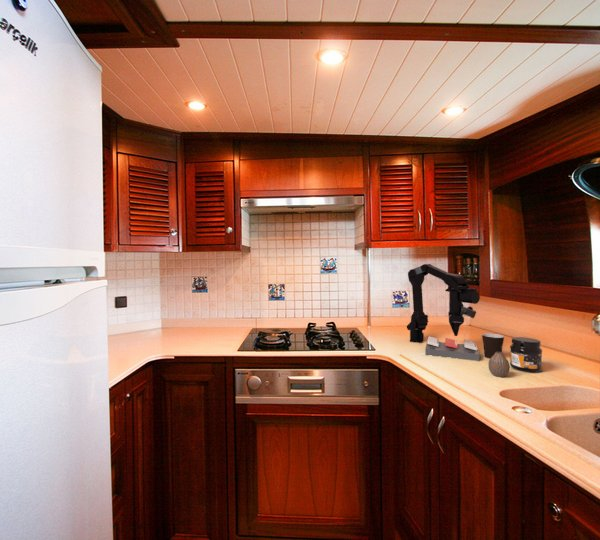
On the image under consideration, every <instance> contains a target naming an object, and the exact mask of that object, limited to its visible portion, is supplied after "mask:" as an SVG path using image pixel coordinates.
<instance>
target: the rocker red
mask: <svg viewBox="0 0 600 540" xmlns="http://www.w3.org/2000/svg"><path fill="white" fill-rule="evenodd" d="M444 340H445V341H444V343H445V346H449V347H453V348H457V346H458V345H457V344H458V340H455V339H452V338H447V337H445V339H444Z"/></svg>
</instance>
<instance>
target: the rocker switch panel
mask: <svg viewBox="0 0 600 540" xmlns="http://www.w3.org/2000/svg"><path fill="white" fill-rule="evenodd" d="M457 345H458V346H457V348H453V347H449V346H445V341H444V342H443V341H442V342H441V341H439V345H438V347H437V346H434V345H430V344H427V343H426V345H425V350H424V351H425V353H424V354H425V356H429V355H432V356H431V357H438V356H441V357H440V358H447V357H451V358H450V359H456V358H458V360H467V361H476V362H480V353H479V350H478V348H477V351H476V350H473V349H469V348H466V347H464V343H457Z"/></svg>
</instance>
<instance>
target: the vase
mask: <svg viewBox="0 0 600 540" xmlns="http://www.w3.org/2000/svg"><path fill="white" fill-rule="evenodd" d="M510 367H511V365H510V362H509V360H508V359H507V358H506V356H505V355H504V353H503V352H502V353H501V352H495V354H494V355H493V356H492V357H491V358H490V359H489V361H488V370H489V372H490V374H492V375H493V376H494V377H497V378H505V377H507V376H508V375H509V373H510V371H511V368H510Z"/></svg>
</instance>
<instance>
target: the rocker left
mask: <svg viewBox="0 0 600 540" xmlns="http://www.w3.org/2000/svg"><path fill="white" fill-rule="evenodd" d="M439 342H440V338H436V337H433V336H428V338H427V341H426V344H430V345H434V346H437V347H438V345H439Z"/></svg>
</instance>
